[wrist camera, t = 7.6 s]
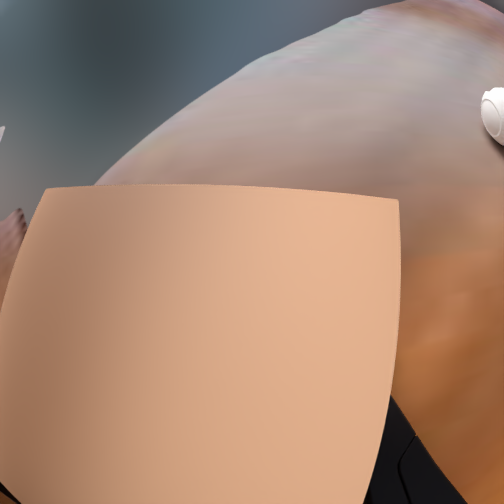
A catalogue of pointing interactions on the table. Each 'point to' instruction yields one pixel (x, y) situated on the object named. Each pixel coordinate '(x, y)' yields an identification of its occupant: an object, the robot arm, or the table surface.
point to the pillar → (199, 345)
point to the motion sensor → (494, 113)
